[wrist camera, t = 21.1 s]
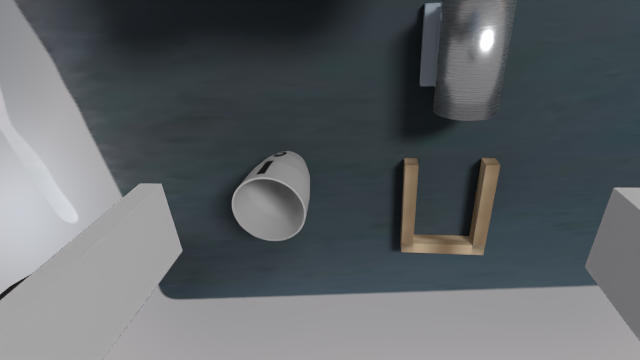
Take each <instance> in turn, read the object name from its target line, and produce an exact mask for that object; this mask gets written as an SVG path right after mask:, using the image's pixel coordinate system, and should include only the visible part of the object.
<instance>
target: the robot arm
mask: <svg viewBox="0 0 640 360" xmlns="http://www.w3.org/2000/svg"><path fill="white" fill-rule="evenodd" d="M181 252H182V248H181V245H180V241H179V238H178V235H177V232H176V229H175V226H174V222H173V219H172V216H171V213H170V210H169V206H168V203H167V200H166V197H165V194H164V191H163V187H162V184H139V185H138V186H136V187H135V188H134V189H133V190H132V191H130V192H129V193H128V194H127V195H126V196H124V197H123V198H122V199H121V200H120V201H118V202H117V203H116V204H115V205H114V206H112V207H111V208H110V209H109V210H108V211H106V212H105V213H104V214H103V215H102V216H101V217H99V218H98V219H97V220H96V221H95V222H93V223H92V224H91V225H90V226H89V227H87V228H86V229H85V230H84V231H83V232H82V233H80V234H79V235H78V236H77V237H75V238H74V239H73V240H72V241H71V242H69V243H68V244H67V245H66V246H65V247H64V248H62V249H61V250H60V251H59V252H57V253H56V254H55V255H54V256H53V257H51V258H50V259H49V260H48V261H47V262H46V263H44V264H43V265H42V266H41V267H40V268H38V269H37V270H36V271H35V272H34V273H32V274H31V275H29V276H27V277H26V278H24V279H22V280H20V281H19V282H17V283H15V284H13V285H12V286H10V287H9V288H8V289H6V290H5V291H4V292H3V293H2V294H0V360H103V359H104V357H105V356H106V355H107V353H108V352H109V351H110V349H111V348H112V347H113V345H114V344H115V342H116V341H117V340H118V338H119V337H120V336H121V334H122V333H123V332H124V330H125V329H126V328H127V326H128V325H129V323H130V322H131V321H132V319H133V318H134V317H135V315H136V314H137V312H138V311H139V310H140V308H141V307H142V306H143V304H144V303H145V302H146V300H147V299H148V297H149V296H150V294H151V293H152V292H153V291H154V289H155V288H156V287H157V285H158V284H159V282H160V281H161V280H162V278H163V277H164V276H165V274H166V273H167V271H168V270H169V269H170V267H171V266H172V265H173V263H174V262H175V261H176V259H177V258H178V256H179V255H180V254H181ZM585 268H586V269H587V271H588V272H589V273H590V275H591V276H592V277H593V279H594V280H595V281H596V283H597V284H598V285H599V287H600V288H601V289H602V291H603V292H604V293H605V295H606V296H607V298H608V299H609V300H610V302H611V303H612V304H613V306H614V307H615V308H616V310H617V311H618V312H619V314H620V315H621V316H622V318H623V319H624V321H625V322H626V323H627V325H628V326H629V327H630V329H631V330H632V331H633V333H634V334H635V335H636V337H637V338H638V339H639V341H640V188H613V191H612V194H611V197H610V199H609V202H608V205H607V208H606V210H605V213H604V216H603V219H602V221H601V224H600V227H599V229H598V232H597V235H596V238H595V240H594V243H593V246H592V249H591V251H590V254H589V257H588V259H587V262H586V265H585Z"/></svg>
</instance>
